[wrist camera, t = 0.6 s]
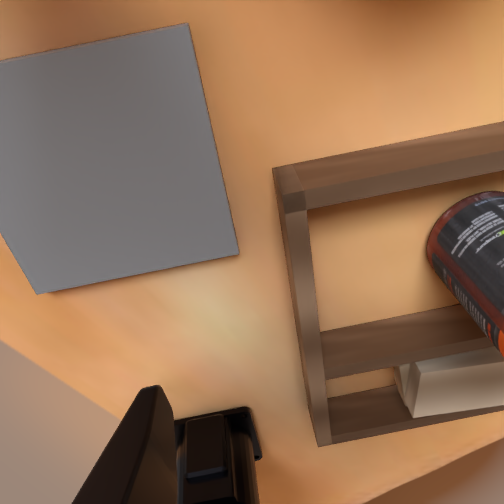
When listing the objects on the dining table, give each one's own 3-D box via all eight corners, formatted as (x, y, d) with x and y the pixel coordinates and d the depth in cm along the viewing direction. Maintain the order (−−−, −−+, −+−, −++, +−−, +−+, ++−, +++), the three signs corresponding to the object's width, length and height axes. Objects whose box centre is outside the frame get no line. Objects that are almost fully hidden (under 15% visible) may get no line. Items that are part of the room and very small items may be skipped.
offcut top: (530, 381, 30) (544, 399, 29) (404, 399, 30) (413, 418, 29) (548, 335, 28) (564, 352, 27) (411, 354, 28) (421, 373, 26)
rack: (594, 353, 33) (626, 385, 30) (308, 410, 33) (318, 447, 30) (706, 80, 22) (773, 96, 19) (272, 168, 22) (282, 194, 19)
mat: (237, 243, 24) (239, 253, 23) (42, 283, 24) (36, 294, 23) (188, 22, 18) (187, 25, 17) (-76, 76, 18) (-89, 81, 17)
